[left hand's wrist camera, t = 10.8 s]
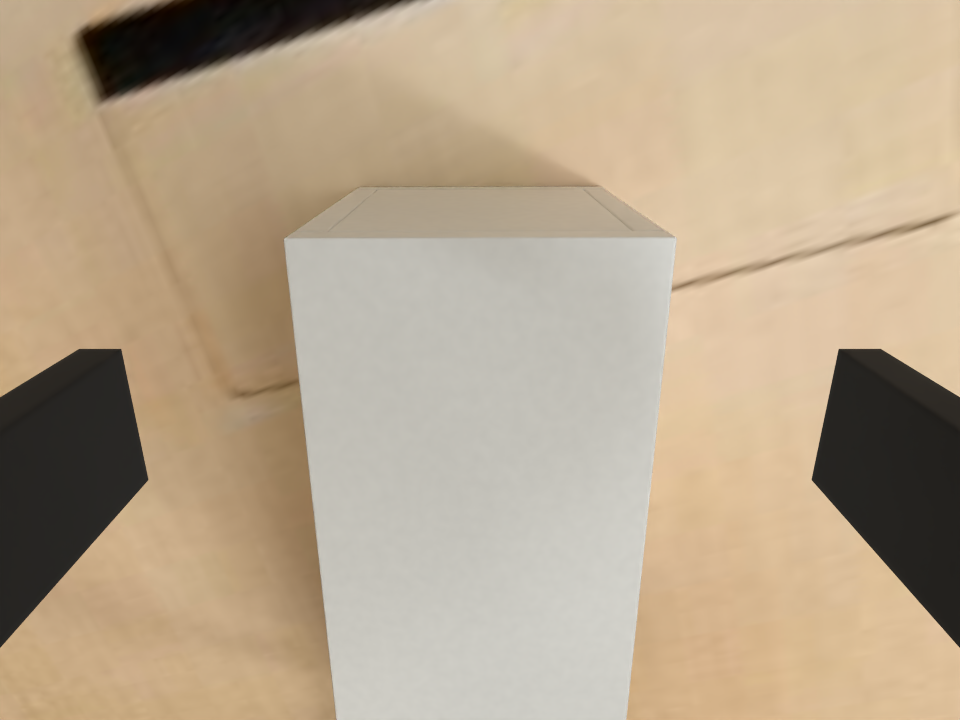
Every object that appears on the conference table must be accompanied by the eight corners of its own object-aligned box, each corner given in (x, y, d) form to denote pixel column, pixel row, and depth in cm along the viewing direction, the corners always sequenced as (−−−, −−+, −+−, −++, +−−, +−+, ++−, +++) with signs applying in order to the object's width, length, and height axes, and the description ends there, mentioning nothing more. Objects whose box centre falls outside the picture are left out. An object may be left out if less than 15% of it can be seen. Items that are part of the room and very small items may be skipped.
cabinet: (578, 570, 33) (621, 773, 23) (383, 571, 33) (341, 774, 23) (602, 186, 26) (677, 236, 16) (357, 186, 26) (282, 238, 16)
